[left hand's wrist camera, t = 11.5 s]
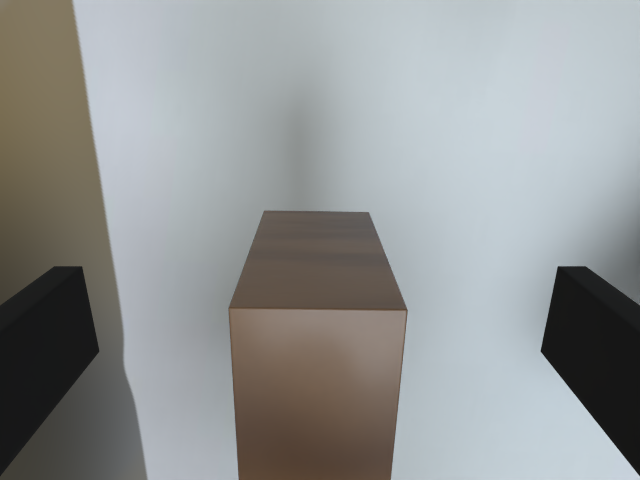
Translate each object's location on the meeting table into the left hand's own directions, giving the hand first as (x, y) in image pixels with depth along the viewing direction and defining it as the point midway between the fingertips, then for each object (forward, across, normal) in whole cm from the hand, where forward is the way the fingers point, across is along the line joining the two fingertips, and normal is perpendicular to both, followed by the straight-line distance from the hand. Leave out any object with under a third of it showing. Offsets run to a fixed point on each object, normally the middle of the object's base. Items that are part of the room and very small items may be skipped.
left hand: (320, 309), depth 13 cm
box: (+13, 0, -12) cm, 18 cm away
